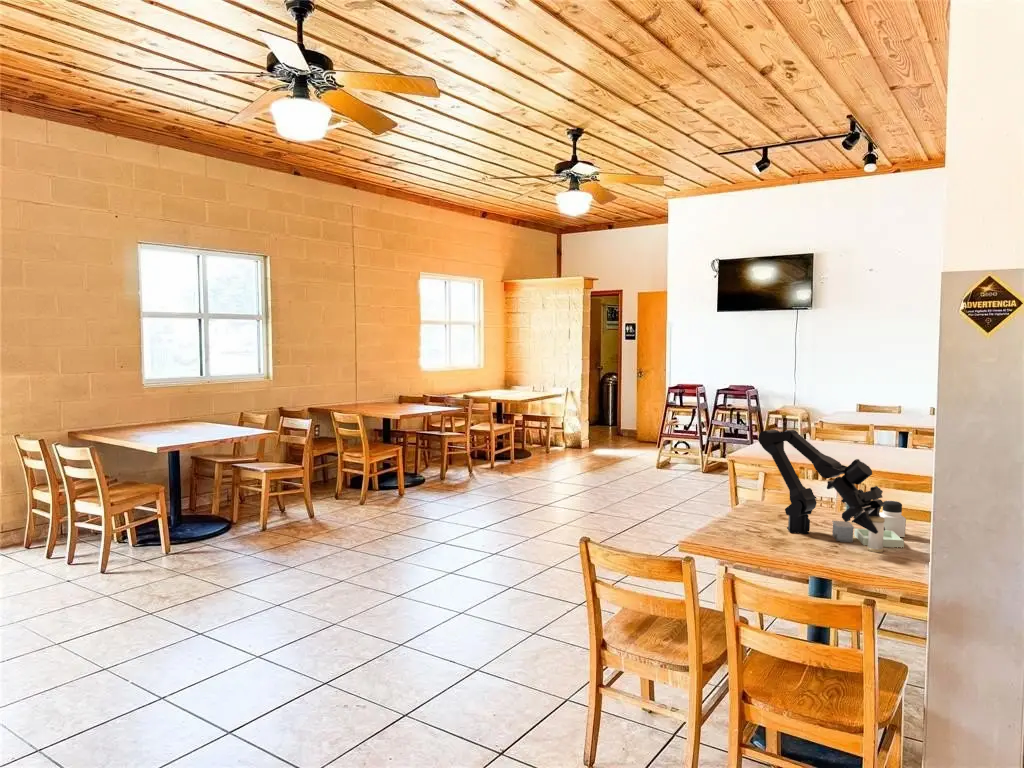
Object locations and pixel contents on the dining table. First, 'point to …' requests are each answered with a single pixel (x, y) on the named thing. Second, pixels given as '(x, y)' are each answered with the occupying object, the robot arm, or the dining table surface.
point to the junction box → (843, 531)
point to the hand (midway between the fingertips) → (880, 531)
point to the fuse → (876, 535)
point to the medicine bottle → (893, 517)
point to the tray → (888, 539)
